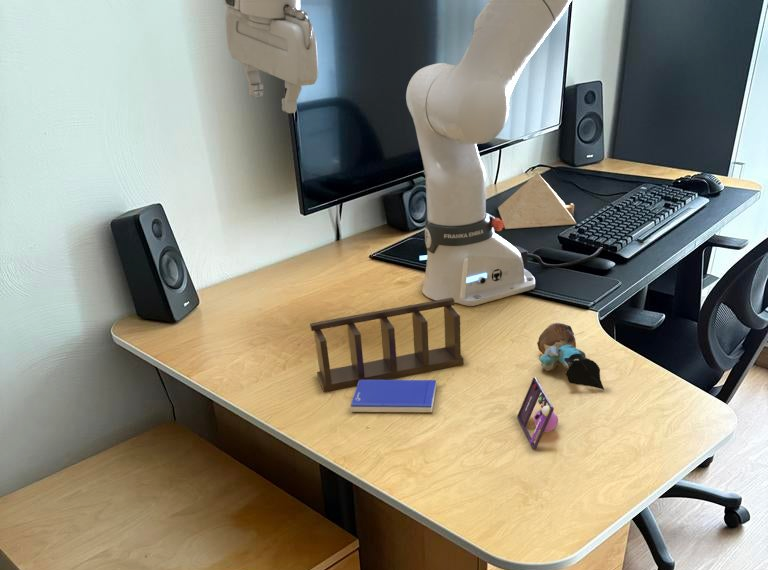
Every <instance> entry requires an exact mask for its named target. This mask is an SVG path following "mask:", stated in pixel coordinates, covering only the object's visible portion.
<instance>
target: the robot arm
mask: <svg viewBox="0 0 768 570" xmlns="http://www.w3.org/2000/svg"><path fill="white" fill-rule="evenodd" d="M222 2H223V4H224V5H225V6H227V7H226V8H225V14H224V17H225V30H226V31H225V33H226V44H227V50H228V52H229V55H230V57H231V58H232V59H233V60H237V61H239V62H241V63H243V71H244V73H245V77H246V80H247V83H248V89H249V90H248V92H249V93H248V94H249V96H251V97H253V98H256V99H257V98H264V95H265V93H264V84H263V83H262V82H261V77H260V73H259V71H261V72H264V73H265V74H269V75H271V76H274V77H276V78H278V79H281V80H283V81H284V88H285V89H286V92H285V96H284V98H281V110H282V111H283V112H285V113H286V114H294V113H296V112H297V110H298V105H297V104H298V99H299V96H300V94H301V91H302V88H303V86H312V85H314V84H316V82H317V80H318V78H319V61H318V60H319V58H318V47H317V46H318V45H317V44H318V43H317V37H316V33H315V30H314V28H313V23H312V21H311V20H310V18H309V16H308V13H307V12H306V11H305V10H304V9H301V4H302V3H301V0H222ZM571 2H572V0H488V2H487V3H486V5H485V6H484V7H483V8H482V10H481V11H480V13H478V15H477V17H476V18H475V21H474V23H473V34H472V37H471V40H470V42H469V44H468V46H467V49H466V51H465V53H464V54H463V57H462V58H461V60H460V61H459V62H458V63H457V64H456V65H454V64H449V63H445V62H437V63H433V64H429V65H426V66H424V67H422V68H420V69H418V70H417V71H416V72H415V73H414V74H413V75H412V76H411V78H410V80H409V82H408V85H407V88H406V93H405V99H406V106H407V109H408V112H409V113H410V115H411V118H412V121H413V124H414V127H415V132H416V137H417V142H418V147H419V152H420V156H421V160H422V166H423V171H424V176H425V177H424V178H425V179H424V180H425V197H426V199H425V200H426V217H425V220H424V243H425V248H426V255H419V261H425V260H426V266H425V272H424V273H425V274H424V278H423V283H422V287H421V292H422V294H423V295H424V296H425V297H426V298H428V299H430V300H432V301H436V300H441V299H447V298H453V299H454V304H460V305H463V306H468V307H474V306H478V305H482V304H485V303H488V302H493V301H497V300H500V299H503V298H507V297H511V296H514V295H518V294H522V293H524V292H529V291H531V290H535V288H536V279H535V277H534V275H533V273H531V272H530V271H529V270H527V269H526V267H528V258H532V259H534V260H536V261H537V263H538V264H539V266H540V267H543V268H558V267H570V266H575V265H578V264H581V263H584V262H587V261H590V260H592V259H595V258H597V256H599V255H600V254H601V252H602V251H603V250H605V249H606V248H603V247H601V246H600V247H599V248H598V249H597V250H596V251H595V252H594V253H593V254H591V255H589V256H586V257H582V258H579V259H576V260H573V261H570V262H565V263H559V264H557V263H556V264H553V263H552V264H551V263H547V262H546V263H545V262H543V261H542V259H541V257H540V256H539V255H537V254H534V253H528V250H526V249H524V248H522V247H520V246H518V245H513V244H511V243H510V242H509V241H507V240H506V239H505V238H503V237H502V236H500V235H499V234H497V233H496V232H501V231H503V229H505V227H504V224H503V223H504V222H503V221H502V219H501V218H500V217H495V216H494V215H492V214H489V213H487V210H486V209H487V208H486V207H487V203H486V202H487V173H486V169H485V166H484V164H483V161H482V160H481V157H480V152H479V149H478V146H477V145H480V144H482V145H483V144H487V143H489V142H491V141H493V140H494V139H496V138H497V136H498V135H500V133H501V132H502V131H503V129H504V128H505V125H506V123H507V120H508V118H509V110H510V106H509V105H510V104H509V103H510V97H511V95H512V92H513V90H514V88H515V85H516V83H517V81H518V79H519V77H520V75H521V74H522V71H523V69H524V68H525V67H526V66H527V65H526V64H527V63H528V62H529V60H530V59H531V58H532V56H533V55H534V54H535V52H536V51H537V50H538V48H539V47H540V46H541V44H542V43H543V42H544V41H545V39H546V37H547V36H548V35H549V33H550V32H551V31H552V29H553V28H554V27H555V26H556V24H557V23H558V21H560V19H561V17H562V16H563V15H564V13H565V12H566V10H567V8H568V7H569V5H570V3H571ZM495 231H496V232H495ZM634 241H635V242H638V243H639V244H644V243H645V242H644V241H643V239H641V238H640V239H637V240H634Z"/></svg>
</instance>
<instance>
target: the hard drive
mask: <svg viewBox="0 0 768 570" xmlns="http://www.w3.org/2000/svg"><path fill="white" fill-rule="evenodd" d="M436 391H437V380H436V379H388V380H359V382H358V385H357V386H356V388H355V391H354V393H353V397H352V400H351V403H350V411H351V412H352V413H432V412H433V409H434V402H435V396H436Z"/></svg>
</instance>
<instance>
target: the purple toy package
mask: <svg viewBox="0 0 768 570" xmlns="http://www.w3.org/2000/svg"><path fill="white" fill-rule="evenodd" d="M537 402H538V404H539V406H540V409H539V410H537V411H536V412H535V414H534V415H533V423H534V425H535V429H534V431H533V434H532V436H531V434H530V432H529V430H528V428H527V426H528V423H529V421H530V418H531V416H532V414H533V411H534V409H535V407H536V405H537ZM554 410H555V408H554V406H553V403H552V402H551V400H550V398H549V397H548V395H547V394H546V391H545V390H544V388H543V387H542V385H541V383H540V381H539V380H538V378H537V377H533V378H532V380H531V383H530V385H529V388H528V389H527V392H526V395H525V396H524V399H523V401H522V404H521V406H520V409H519V411H518V414H517V416H516V418H517V419H518V422H519V425H520V426H521V429H522V430H523V433H524V434H525V437H526V438H527V441H528V442H529V445H530V447H531V449H532V450H537V448H538V446H539V444H540V441H541V439H542V437H543V435H544V432H545V433H548V432H552V431H554V430H555V429H556V428H557V426H558V424H559V417H558V415H557V414H556V412H555V411H554Z"/></svg>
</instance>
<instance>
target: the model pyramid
mask: <svg viewBox="0 0 768 570" xmlns="http://www.w3.org/2000/svg"><path fill="white" fill-rule="evenodd" d="M497 210H498V213H499V215H500V219H501V220H502V222H504V223H503V224H504V229H505V230H511V229H524V228H525V229H527V228H539V227H540V228H541V227H554V226H569V225H577V222H576V220H575V219H574V213H575V204H574V203H573V202H572V203H570V204H566V203H565V202H564V200H562V199H561V197H560V196H559V195H558V194H557V192H556V191H555V190H554V189H553V188H552V187H551V186H550V184H549V183H548V182H547V181H546V180H545V178H543V177H542V176H541V174H540V173H539V172H537V173H535V174H534V176H532V177H531V178H530V179H528V180H527V181H526V182H525V183H524V184H522V186H521V187H519V189H517V190H516V191H515V192H514V193H513V194H512V195H511V196H509V197H508V198H507V199H506V200H505V201H504V202H503V203H502V204H500V205H499V206H498V207H497Z"/></svg>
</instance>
